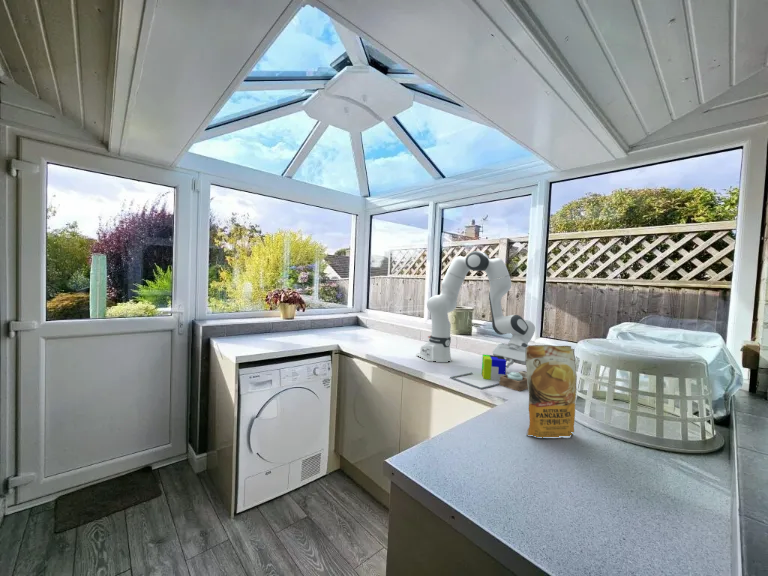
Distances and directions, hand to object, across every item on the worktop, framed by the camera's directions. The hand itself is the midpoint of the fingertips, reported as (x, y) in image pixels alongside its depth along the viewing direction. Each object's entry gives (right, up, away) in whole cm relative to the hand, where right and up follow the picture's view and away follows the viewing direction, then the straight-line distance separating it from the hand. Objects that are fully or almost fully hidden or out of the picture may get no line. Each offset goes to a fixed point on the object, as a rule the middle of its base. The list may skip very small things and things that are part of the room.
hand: (504, 366), depth 167 cm
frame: (-18, -4, -13) cm, 23 cm away
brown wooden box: (0, -5, -16) cm, 17 cm away
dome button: (-2, -2, -18) cm, 19 cm away
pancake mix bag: (-11, -6, -65) cm, 66 cm away
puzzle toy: (-8, -4, -5) cm, 10 cm away
